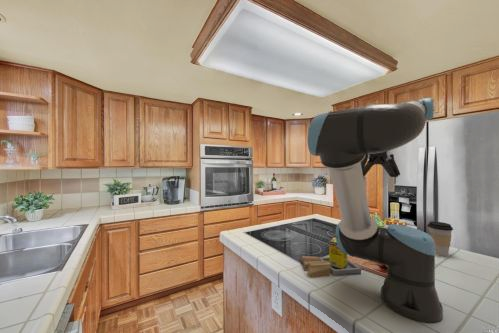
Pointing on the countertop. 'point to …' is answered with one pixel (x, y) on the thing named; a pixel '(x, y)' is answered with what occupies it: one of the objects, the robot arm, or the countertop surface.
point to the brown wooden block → (308, 259)
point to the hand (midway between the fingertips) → (377, 191)
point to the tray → (349, 270)
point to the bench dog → (319, 268)
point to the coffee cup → (441, 237)
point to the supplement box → (336, 256)
